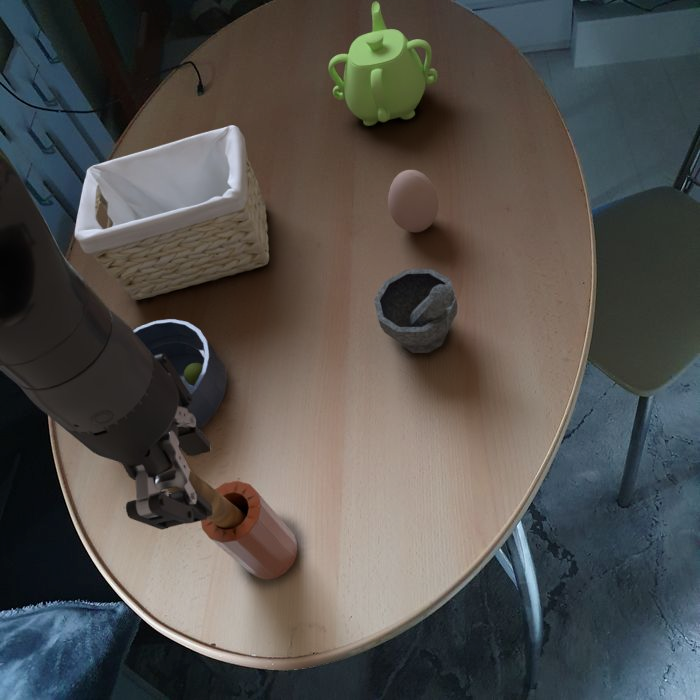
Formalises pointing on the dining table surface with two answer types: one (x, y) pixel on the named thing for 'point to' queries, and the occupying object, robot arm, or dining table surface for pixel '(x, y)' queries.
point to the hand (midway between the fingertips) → (200, 481)
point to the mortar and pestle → (417, 309)
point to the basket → (175, 214)
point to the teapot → (383, 74)
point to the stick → (215, 504)
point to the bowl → (189, 362)
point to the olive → (192, 373)
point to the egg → (413, 201)
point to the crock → (254, 534)
